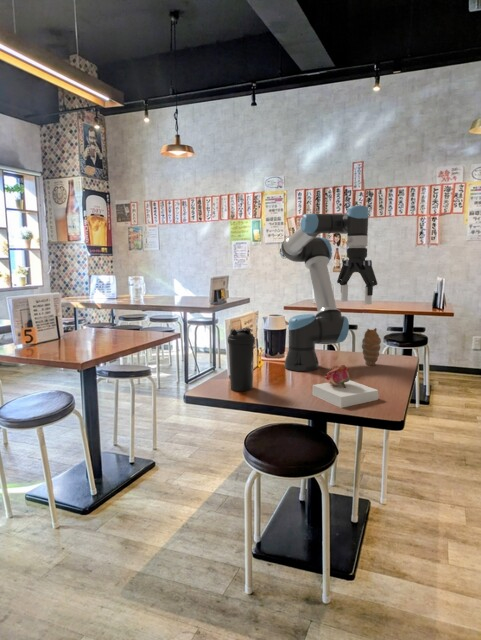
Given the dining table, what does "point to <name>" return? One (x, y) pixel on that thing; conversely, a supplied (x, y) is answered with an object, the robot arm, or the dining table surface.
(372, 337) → the cat ice cream
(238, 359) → the water bottle
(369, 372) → the dining table surface
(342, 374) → the flower
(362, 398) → the block
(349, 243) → the robot arm
